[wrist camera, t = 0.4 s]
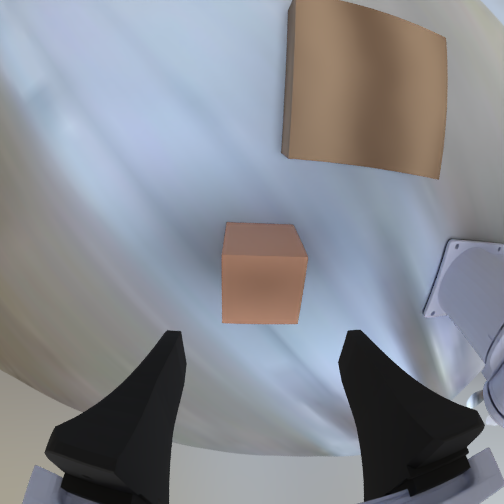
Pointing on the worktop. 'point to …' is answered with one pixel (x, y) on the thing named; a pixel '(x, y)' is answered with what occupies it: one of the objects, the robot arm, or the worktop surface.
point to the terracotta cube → (262, 273)
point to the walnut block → (363, 89)
